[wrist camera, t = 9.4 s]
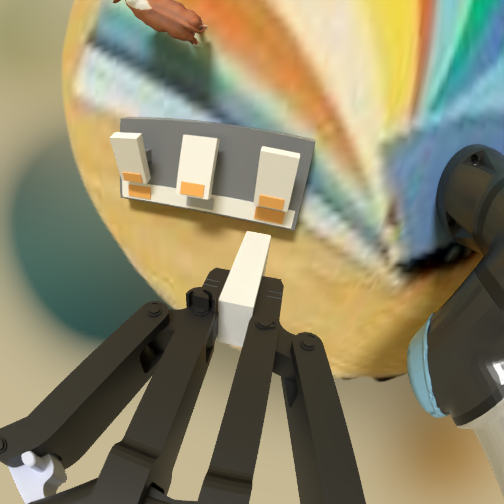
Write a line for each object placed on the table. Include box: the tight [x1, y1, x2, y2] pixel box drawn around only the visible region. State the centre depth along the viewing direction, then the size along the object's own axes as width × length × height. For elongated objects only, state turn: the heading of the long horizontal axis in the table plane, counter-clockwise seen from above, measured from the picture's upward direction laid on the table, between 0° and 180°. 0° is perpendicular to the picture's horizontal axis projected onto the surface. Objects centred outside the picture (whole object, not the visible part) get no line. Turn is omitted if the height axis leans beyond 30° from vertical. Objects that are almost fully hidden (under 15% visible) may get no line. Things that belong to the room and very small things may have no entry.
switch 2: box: [253, 146, 300, 212], centre depth 29 cm, size 4×7×1 cm, turn 170°
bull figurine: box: [113, 0, 208, 46], centre depth 21 cm, size 4×13×8 cm, turn 43°
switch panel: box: [120, 117, 315, 231], centre depth 33 cm, size 25×12×4 cm, turn 80°
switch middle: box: [176, 134, 220, 200], centre depth 30 cm, size 4×7×1 cm, turn 170°
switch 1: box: [110, 132, 151, 184], centre depth 30 cm, size 4×7×1 cm, turn 170°
